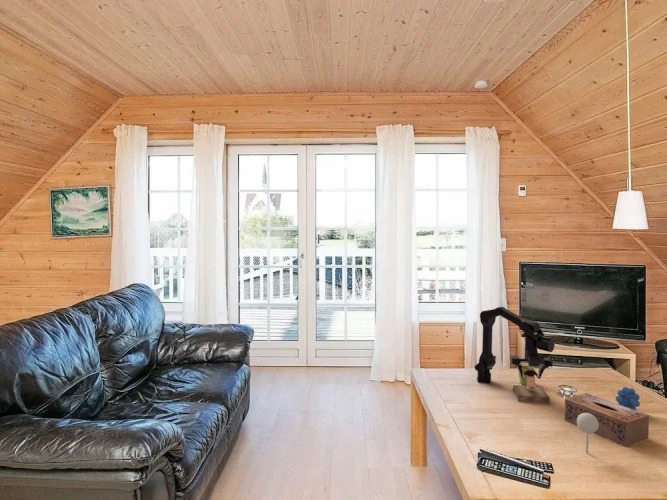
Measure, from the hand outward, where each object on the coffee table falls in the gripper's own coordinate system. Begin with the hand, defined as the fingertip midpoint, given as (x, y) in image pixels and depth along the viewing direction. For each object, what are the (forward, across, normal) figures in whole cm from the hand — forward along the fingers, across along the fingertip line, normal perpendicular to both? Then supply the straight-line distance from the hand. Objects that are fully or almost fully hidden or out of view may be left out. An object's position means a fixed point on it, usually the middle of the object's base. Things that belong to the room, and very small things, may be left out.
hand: (530, 378), depth 214 cm
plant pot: (+10, +2, +19) cm, 21 cm away
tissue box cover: (+10, +22, -31) cm, 39 cm away
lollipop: (+9, +8, -53) cm, 55 cm away
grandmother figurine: (+5, 0, 0) cm, 5 cm away
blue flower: (+10, +39, -12) cm, 42 cm away
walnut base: (+10, 0, 0) cm, 10 cm away
